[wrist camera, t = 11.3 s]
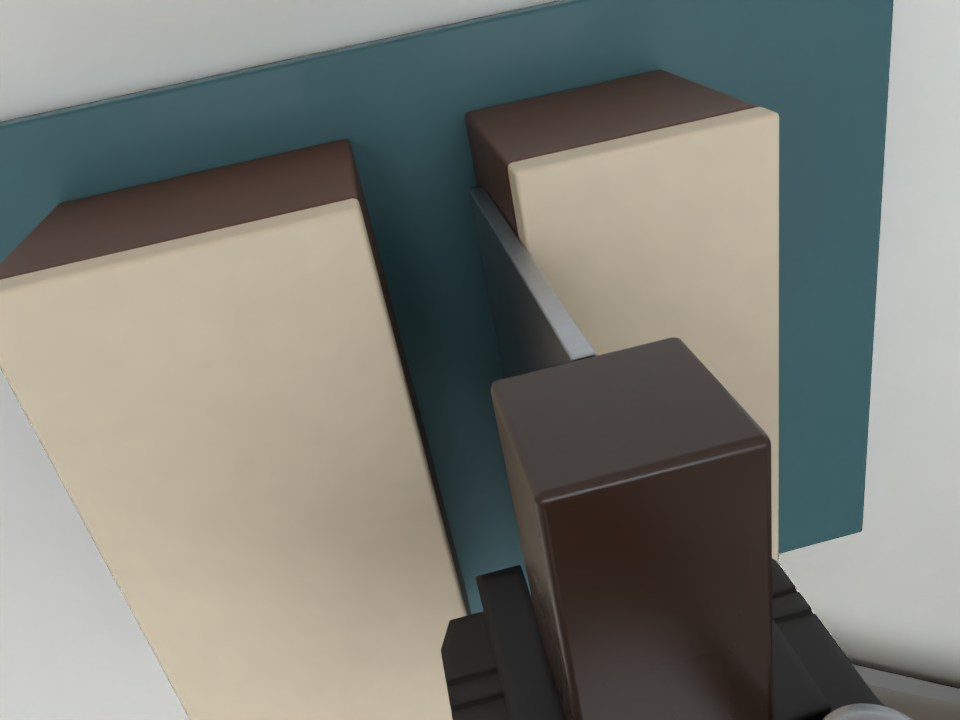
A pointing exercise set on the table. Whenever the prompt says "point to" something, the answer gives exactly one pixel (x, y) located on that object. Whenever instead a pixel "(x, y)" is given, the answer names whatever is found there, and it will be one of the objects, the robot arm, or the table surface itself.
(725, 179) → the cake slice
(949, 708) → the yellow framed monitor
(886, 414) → the table surface
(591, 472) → the bar
